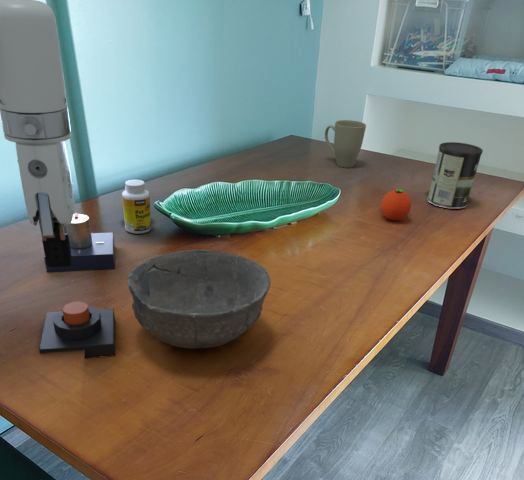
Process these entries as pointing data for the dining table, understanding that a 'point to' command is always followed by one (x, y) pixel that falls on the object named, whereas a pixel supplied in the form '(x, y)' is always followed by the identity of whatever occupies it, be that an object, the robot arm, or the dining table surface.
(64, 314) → the orange short cylinder
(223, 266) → the bowl
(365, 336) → the dining table surface
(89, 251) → the lock panel
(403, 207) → the clementine
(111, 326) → the button base
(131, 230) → the supplement bottle
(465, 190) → the coffee can
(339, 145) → the mug
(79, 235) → the lock knob
